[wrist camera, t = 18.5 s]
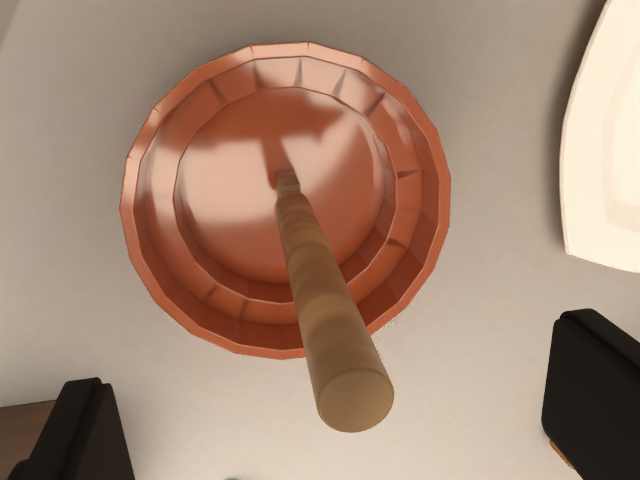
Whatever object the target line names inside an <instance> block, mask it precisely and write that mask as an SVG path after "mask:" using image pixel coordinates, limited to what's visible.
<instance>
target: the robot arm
mask: <svg viewBox="0 0 640 480" xmlns="http://www.w3.org/2000/svg"><path fill="white" fill-rule="evenodd" d="M541 421H542V425H543V429H544V431H545V433H546V434H547V436H548V437H549V438H550V439H551V441H552V442H553V443H554V444H555V446H556V447H557V448H558V449H559V450H560V452H561V453H562V454H563V455H564V457H565V458H566V459H567V460H568V461H569V463H570V464H571V465H572V466H573V468H574V469H575V470H576V471H577V473H578V474H579V475H580V476H581V477H582V479H583V480H640V343H639V342H638V341H637V340H635V339H634V338H632V337H631V336H630V335H628V334H627V333H626V332H624V331H623V330H621V329H620V328H619V327H617V326H616V325H615V324H613V323H612V322H610V321H609V320H608V319H606V318H605V317H604V316H602V315H601V314H599V313H598V312H597V311H595V310H593V309H589V308H587V309H580V310H573V311H566V312H564V313H562V314H561V316H560V319H558V320H556V321H555V323H554V326H553V333H552V341H551V348H550V356H549V363H548V371H547V378H546V386H545V393H544V401H543V408H542V416H541ZM7 480H135V477H134V473H133V469H132V465H131V461H130V457H129V453H128V449H127V445H126V441H125V437H124V433H123V429H122V424H121V420H120V416H119V412H118V408H117V404H116V400H115V396H114V392H113V388H112V386H111V384H109V383H107V384H102V382H101V380H100V378H98V377H95V378H88V379H81V380H74V381H68V382H66V383H65V384H64V386H63V388H62V390H61V392H60V394H59V396H58V398H57V400H56V403H55V405H54V407H53V409H52V411H51V413H50V415H49V417H48V419H47V421H46V423H45V425H44V428H43V430H42V432H41V434H40V436H39V438H38V440H37V442H36V444H35V446H34V448H33V450H32V453H31V455H30V457H29V459H25V460H21V461H19V462H18V463H17V464H16V465H15V467H14V468H13V470H12V471H11V473H10V475H9V477H8V479H7Z"/></svg>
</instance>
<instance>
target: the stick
mask: <svg viewBox="0 0 640 480" xmlns="http://www.w3.org/2000/svg"><path fill="white" fill-rule="evenodd" d="M276 175H277V187H278V199H277V200H276V203H275V206H274V211H275V216H276V221H277V225H278V230H279V235H280V239H281V244H282V248H283V253H284V258H285V262H286V267H287V272H288V276H289V281H290V285H291V290H292V295H293V299H294V304H295V309H296V313H297V318H298V322H299V327H300V332H301V336H302V341H303V346H304V350H305V355H306V359H307V364H308V369H309V373H310V378H311V383H312V387H313V392H314V396H315V401H316V406H317V410H318V413H319V415H320V417H321V419H322V420H323V421H324V422H325V423H326V424H327V425H328V426H330V427H331V428H333V429H335V430H338V431H341V432H349V433H353V432H360V431H364V430H367V429H369V428H372V427H373V426H375V425H377V424H378V423H380V422H381V421H382V420H383V419H384V418H385V417H386V416H387V414H388V413H389V411H390V409H391V407H392V404H393V400H394V389H393V385H392V383H391V381H390V379H389V376H388V374H387V372H386V370H385V368H384V365H383V363H382V361H381V359H380V357H379V354H378V352H377V350H376V348H375V346H374V343H373V341H372V339H371V337H370V335H369V332H368V330H367V328H366V326H365V324H364V321H363V319H362V317H361V315H360V313H359V310H358V308H357V306H356V304H355V301H354V299H353V297H352V295H351V293H350V290H349V288H348V286H347V284H346V282H345V279H344V277H343V275H342V273H341V271H340V268H339V266H338V264H337V262H336V260H335V257H334V255H333V253H332V251H331V249H330V246H329V244H328V242H327V240H326V238H325V235H324V233H323V231H322V229H321V227H320V224H319V222H318V220H317V218H316V216H315V213H314V211H313V209H312V207H311V205H310V202H309V200H308V199H307V197H306V196H305V195H304V194H302V193H301V185H300V183H299V180H298V178H297V176H296V174H295V171H282V172H277V173H276Z"/></svg>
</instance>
